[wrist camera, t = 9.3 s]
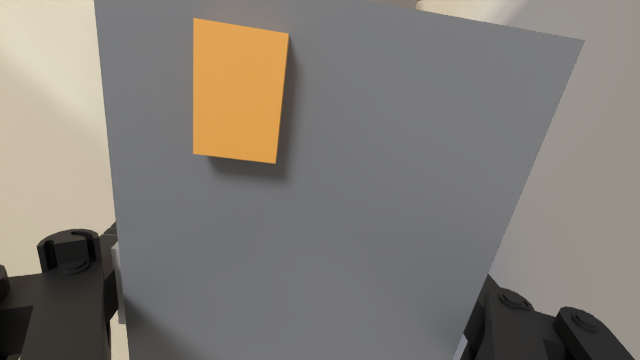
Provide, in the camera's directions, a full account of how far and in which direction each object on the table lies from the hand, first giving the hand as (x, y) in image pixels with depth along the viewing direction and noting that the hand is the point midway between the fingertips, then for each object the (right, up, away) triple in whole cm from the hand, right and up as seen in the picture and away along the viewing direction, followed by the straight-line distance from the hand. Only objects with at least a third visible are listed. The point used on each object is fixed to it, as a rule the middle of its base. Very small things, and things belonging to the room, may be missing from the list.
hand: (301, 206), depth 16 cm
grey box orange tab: (0, +2, +4) cm, 4 cm away
